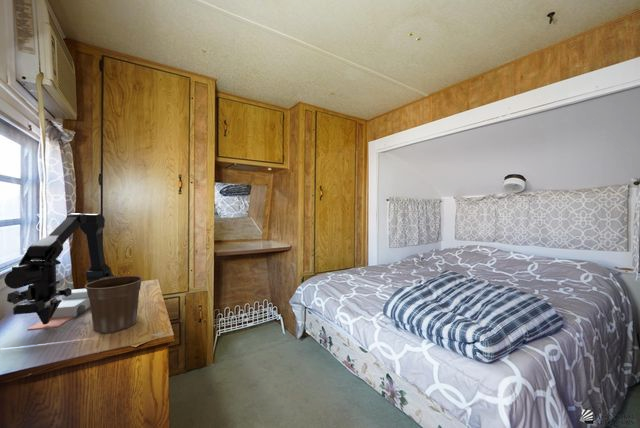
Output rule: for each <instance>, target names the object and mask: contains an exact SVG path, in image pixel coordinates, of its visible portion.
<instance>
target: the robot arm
mask: <svg viewBox="0 0 640 428" xmlns="http://www.w3.org/2000/svg"><path fill="white" fill-rule="evenodd" d="M105 222H106V217H104V215H102V214H101V213H69V214H67V215H66V217H65V219H64V220H63V221H62V222H61V223H60V224H58V226H57V227H56V228H55V229H54V230H53V231H51V233H50V234H49V235H47V236H46V237H44V238H41V239H39V240H37V241H35V242H34V243H32V244H31V245H30V246H29V247H28V248H27V250H26V252H25V253H24V255H23V256H22V258H21V260H20V261H19V263H18V265H16V266H15V265H14V266H12V267H11V271H9V272H7V273H6V275H5V277H4V283H5V286H7V287H8V288H9V289H13V290H14V289H21V288H23V287H27V286H28V287H27V289H24V290H21V291H18V290H16V291H12V292H9V293H7V296H6V302H8V303H10V304H11V303H12V304H13V305H15V306H14V307H13V308H12V315H26V314H34V313H35V314H36V315H37V316H38V318H39V320H40V321H41V322H42V323H43V324H48V323H49V321H50V319H51V318H52V316H53V314H54V312H55V311H56V309H57V307H58V306H59V304H60V302H62V299H58V298H57V297H60V296H62V295H64V296H65V297H67V296H69V295H71V294H72V290H73V289H72V288H71V287H69V286H68V287H57V285H58V284H60V282H61V281H60V279H57V265H61V263H62V262H61V261H60V260H58V258H59V257H60V255H61V253H62V252H63V250H64V244H65V242H66V241H68V239H69V238H70V237H71V236H72V235H73V234H74V233H75V231H76V230H77V229H78V228H79V229H80V231H82V233H83V234H85V236H86V243H87V250H88V255H89V261H90V262H89V263H90V266H89V269H88V270H87V271H86V272H85V275H86V281H87V284H88V283H90V282H93V281H97V280H99V279H100V278H103V277H109V276H115V275H114V274H113V273H112V270H111V269H112V268H111V267H110V266H109V265H108V264H107V263H106V260H105V259H106V258H105V252H104V244H103V239H102V231H103V230H104V228H105Z"/></svg>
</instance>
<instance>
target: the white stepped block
mask: <svg viewBox="0 0 640 428" xmlns="http://www.w3.org/2000/svg"><path fill="white" fill-rule="evenodd" d="M71 290H72V294H71V295H69V296H67V297H65V296H64V295H61V298H62V299H61V300H62V302H60V304H59V306H58V307H57V309H56V311H55V312H54V314H53V316H52V318H63V317H73V316H74V318H75V317H76V316H78V315H83V314H84V313H85V311H86V310H87V309H89V308H91V307H90V300H89V298H88V294H87V289H86V288H79V289H71ZM52 318H51V319H52Z"/></svg>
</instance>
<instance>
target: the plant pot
mask: <svg viewBox="0 0 640 428" xmlns="http://www.w3.org/2000/svg"><path fill="white" fill-rule="evenodd" d="M142 281H143V277H142V276H139V275H122V276H118V277H112V278H106V279H101V280H97V281H93V282H90V283H88V282H87V284H85V285H84V289H87V294H88V298H89V300H90V307H89V308H90V313H91V321H92V327H93V329H92V330H93V331H94V333H98V334H109V333H110V334H111V333H115V332H119V331H121V330H123V329H128V328H130V327H132V326H135V324H136V323H137V318H138V309H139V308H138V307H139V306H138V305H139V295H140V290H141V286H142Z"/></svg>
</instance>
